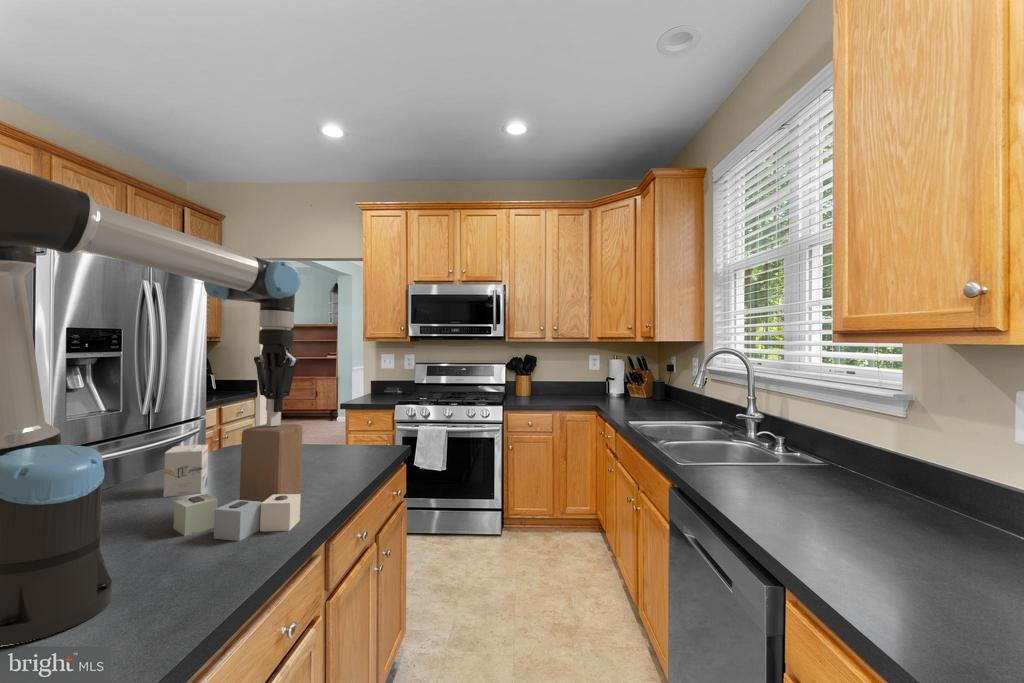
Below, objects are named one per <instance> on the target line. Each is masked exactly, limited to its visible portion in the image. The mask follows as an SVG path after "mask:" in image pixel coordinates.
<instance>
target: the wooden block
mask: <svg viewBox="0 0 1024 683" xmlns="http://www.w3.org/2000/svg"><path fill="white" fill-rule="evenodd" d="M303 430H304V428H303V425H300V424H297V423H296V424H294V423H293V424H292V423H281V425H276V426H267V423H265V424H259V425H257V426H253V427H248V428H246V429H242V432H241V447H240V449H241V450H240V475H239V476H240V477H239V478H240V480H239V500H246V501H258V502H264V501H265V500H266V499H268V498H269V497H270V496H272V495H273V494H302V493H301V491H302V490H301V488H302V485H301V484H302V483H301V482H302V460H303V459H302V458H303V457H302V456H303V455H302V454H303Z"/></svg>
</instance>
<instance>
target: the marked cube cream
mask: <svg viewBox="0 0 1024 683" xmlns="http://www.w3.org/2000/svg"><path fill="white" fill-rule="evenodd" d="M301 494H302V493H301ZM301 494H273V495H272V496H270V497H269V498H268V499H266V500H265V501H264V502H262V503H261V517H260V530H259V531H260V532H289V531H291V530H292V529H293V527H296V525H297V523H299V522H300V521H301Z"/></svg>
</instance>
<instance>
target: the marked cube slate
mask: <svg viewBox="0 0 1024 683" xmlns="http://www.w3.org/2000/svg"><path fill="white" fill-rule="evenodd" d="M261 503H262V502H258V501H246V500H240V499H236V500H233V501H231V502H229V503H226V504H224V505H221V506H218V508H216V509H215V514H214V528H213V539H217V540H226V541H237V542H240V541H243V540H244V539H246V538H248V537H250V536H252V535H254V534H255V533H257V532H259V531H260V517H261Z"/></svg>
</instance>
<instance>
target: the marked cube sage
mask: <svg viewBox="0 0 1024 683" xmlns="http://www.w3.org/2000/svg"><path fill="white" fill-rule="evenodd" d="M173 504H174V505H173V508H174V509H173V530H174V531H175V532H178V533H179V534H180V535H183V536H184V537H186V536H188V535H193V534H195V533H196V534H197V533H199V531H200V532H203V530H204V531H207V530H210V529H214V514H215V509H216V508H219V499H218V498H216V497H213V496H211V495H209V494H207V493H204V494H200V495H199V494H198V495H195V496H191V497H186V498H182V499H179V500H178V499H177V500H174V501H173ZM192 533H193V534H192Z"/></svg>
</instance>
